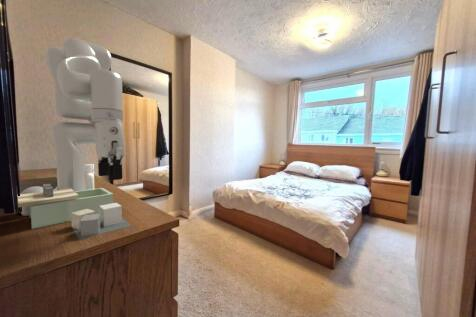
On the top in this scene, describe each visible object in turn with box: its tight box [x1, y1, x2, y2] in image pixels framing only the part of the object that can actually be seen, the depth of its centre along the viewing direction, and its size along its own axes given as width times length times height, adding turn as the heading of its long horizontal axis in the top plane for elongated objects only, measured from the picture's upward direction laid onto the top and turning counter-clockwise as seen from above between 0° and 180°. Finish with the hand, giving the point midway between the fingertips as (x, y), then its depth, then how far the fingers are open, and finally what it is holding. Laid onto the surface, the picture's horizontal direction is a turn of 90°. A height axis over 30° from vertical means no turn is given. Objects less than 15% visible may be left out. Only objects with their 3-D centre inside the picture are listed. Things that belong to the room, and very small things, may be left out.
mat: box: [70, 217, 133, 241], centre depth 58 cm, size 12×12×1 cm
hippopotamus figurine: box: [19, 185, 59, 217], centre depth 69 cm, size 8×12×9 cm, turn 139°
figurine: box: [84, 163, 95, 190], centre depth 79 cm, size 7×9×15 cm
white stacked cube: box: [99, 202, 123, 227], centre depth 60 cm, size 4×4×5 cm
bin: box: [29, 187, 115, 230], centre depth 66 cm, size 12×20×6 cm, turn 137°
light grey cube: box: [80, 214, 101, 237], centre depth 54 cm, size 4×4×4 cm
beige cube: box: [71, 209, 95, 230], centre depth 57 cm, size 4×4×4 cm
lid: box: [17, 183, 79, 209], centre depth 61 cm, size 12×12×4 cm
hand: (110, 177), depth 59 cm, fingers open, 9 cm apart
